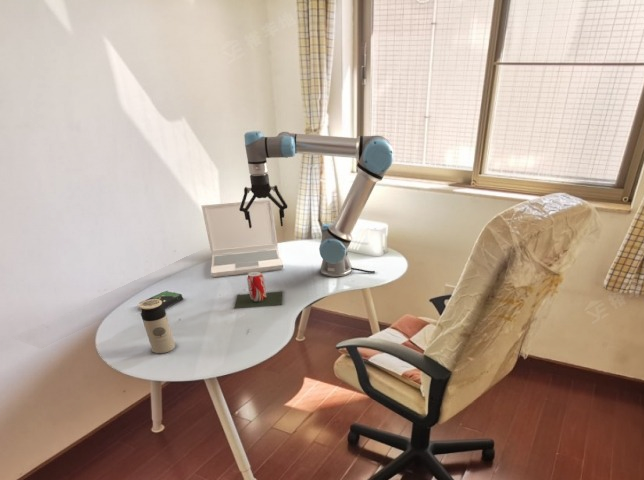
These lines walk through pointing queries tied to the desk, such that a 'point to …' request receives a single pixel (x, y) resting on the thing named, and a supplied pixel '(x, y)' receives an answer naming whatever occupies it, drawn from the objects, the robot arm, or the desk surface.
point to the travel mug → (157, 326)
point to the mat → (270, 300)
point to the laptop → (242, 238)
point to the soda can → (256, 286)
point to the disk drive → (167, 298)
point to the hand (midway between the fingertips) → (266, 226)
